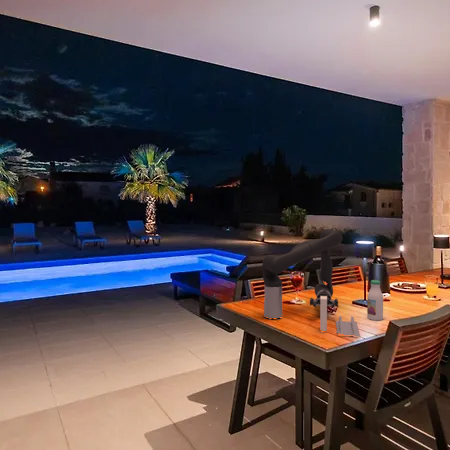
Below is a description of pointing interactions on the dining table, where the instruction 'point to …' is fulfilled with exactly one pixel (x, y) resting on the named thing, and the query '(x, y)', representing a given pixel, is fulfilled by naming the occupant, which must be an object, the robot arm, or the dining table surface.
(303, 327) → the dining table surface
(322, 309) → the grey rectangular block
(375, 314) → the milk bottle
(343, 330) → the door track
